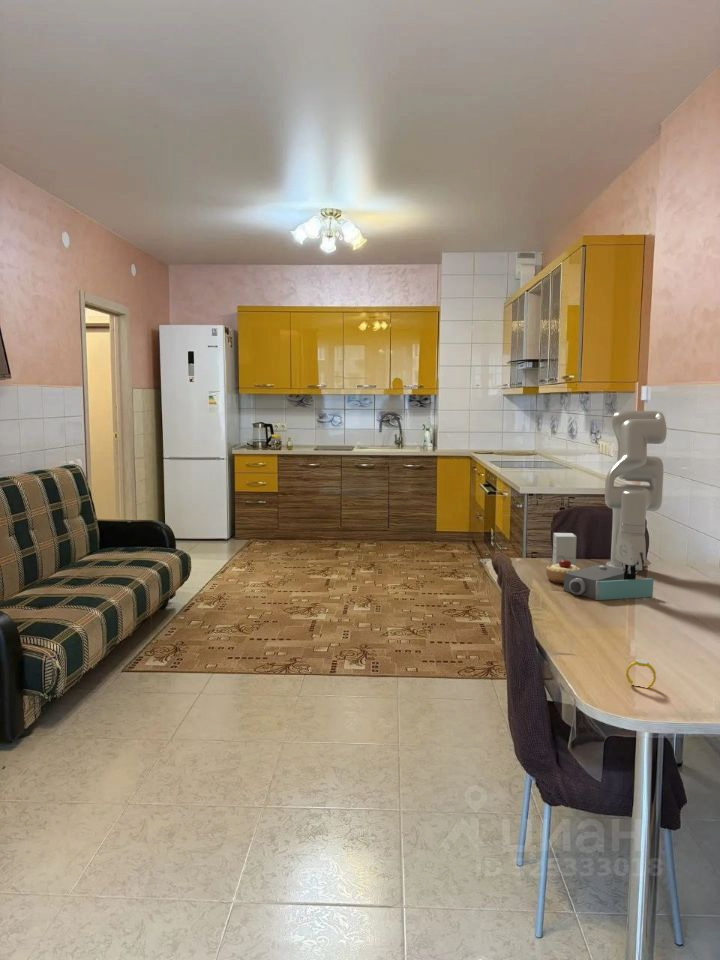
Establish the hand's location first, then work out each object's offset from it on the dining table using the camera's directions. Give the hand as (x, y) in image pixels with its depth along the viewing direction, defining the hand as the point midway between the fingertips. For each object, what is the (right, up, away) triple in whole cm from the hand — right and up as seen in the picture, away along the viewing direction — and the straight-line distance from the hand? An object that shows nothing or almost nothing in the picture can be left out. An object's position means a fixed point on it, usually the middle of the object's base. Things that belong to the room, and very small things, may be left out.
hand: (629, 584), depth 223 cm
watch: (-25, -12, -71) cm, 76 cm away
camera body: (-9, -3, +6) cm, 11 cm away
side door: (-3, -4, -3) cm, 6 cm away
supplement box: (-10, +1, +39) cm, 40 cm away
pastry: (-16, -2, +19) cm, 25 cm away
